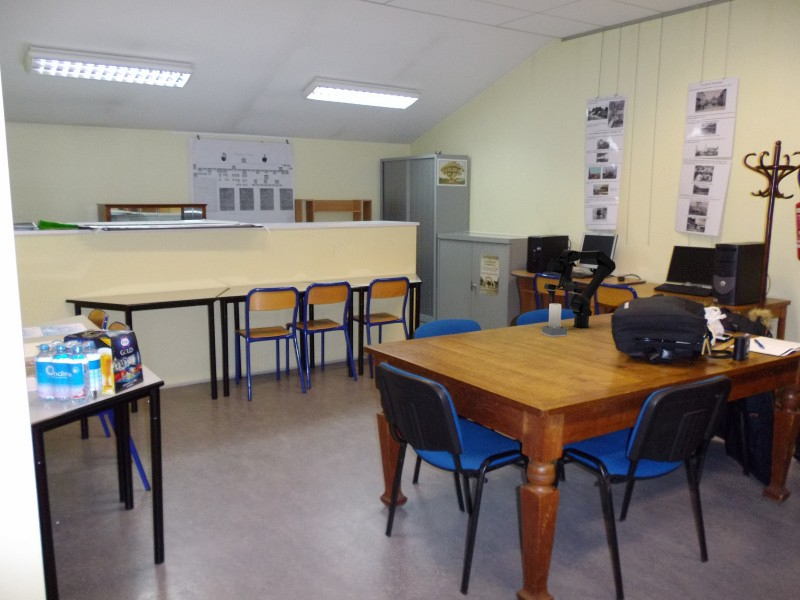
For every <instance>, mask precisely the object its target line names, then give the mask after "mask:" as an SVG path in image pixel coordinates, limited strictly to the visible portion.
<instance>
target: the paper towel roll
mask: <svg viewBox="0 0 800 600" xmlns="http://www.w3.org/2000/svg"><path fill="white" fill-rule="evenodd" d="M561 324H562V303H553V304H551V303H549V309H548V326H549V328H550V329H560V328H561V327H562V325H561Z"/></svg>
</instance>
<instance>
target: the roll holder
mask: <svg viewBox="0 0 800 600" xmlns="http://www.w3.org/2000/svg"><path fill="white" fill-rule="evenodd" d="M541 328H542V329H541V332H540V333H541V334H542V335H545V336H548V337H550V338H551V337H553V338H554V337H556V338H557V337H568V328H567V327H564V326H561V328H560V329H550V328H549V325H542V327H541Z"/></svg>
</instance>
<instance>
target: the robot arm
mask: <svg viewBox="0 0 800 600" xmlns="http://www.w3.org/2000/svg"><path fill="white" fill-rule="evenodd" d="M587 259H588V260H589V259H591V260H592V259H594V260H595V263H596V265H597V267H596V272H595V275H594V276H593V277H592V279H591V280H590V282H589V283H588V285H587V287H586V288H585V289H583V288H582V287H580V286H579V285H580V282H579V281H575V280H574V281H573V270H574V268H577V267H578V265H577V264H576V263H575V262H577V261H580V260H587ZM616 266H617V265H616V262H615V261H613V260H612V258H611V257H609V256H608V255H607V254H606V253H605V252H604V251H602V250H585V251H583V250H582V251H579V250H574V249H563V250H562V252H561V253H560V255H559V256H558V257H557V258H556V259H555V258H554V259H553V258H550V261H549V262H548V263H547V265H546V270H547V271H546V272H548V273H549V274H557V275H558V283H557V284H554V283H546V282H545V284H544V286H543V289H545V291H546V292H547V293H548V296H549V298H550V304H555V303H554V302H555V295H556V292H557V291H558V290H559V291H565V292H570V293H569V298H568V307H569V308H570V307H571V310H572V311H571V312H572V314H573V315H574V319H573V320H574V321H573V325H572V327H575V328H578V329H586V328H587V327H590V328H591V326H590V325H589V324H590V317H591V316H592V314H593V311H592V310H591V309H590V305H591V299H592V298H593V296H594V295H595V294H596V292H597V291H598V289H599V287H600V286H601V284H602V283H603V281H604V280H605V279H606V277H609V276H610V275H611V274H612V273H613V272H614V271H615V270H616V268H617V267H616ZM556 290H557V291H556Z"/></svg>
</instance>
